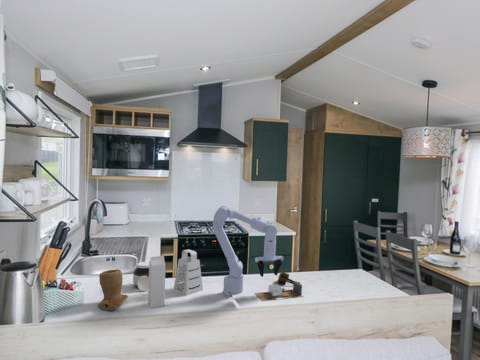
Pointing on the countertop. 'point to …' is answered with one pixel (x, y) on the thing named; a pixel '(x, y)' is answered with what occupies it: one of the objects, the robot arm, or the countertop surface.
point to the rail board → (283, 293)
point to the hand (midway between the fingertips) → (268, 275)
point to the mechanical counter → (284, 278)
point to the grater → (188, 274)
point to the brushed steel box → (275, 290)
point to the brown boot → (111, 289)
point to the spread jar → (141, 276)
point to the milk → (156, 282)
